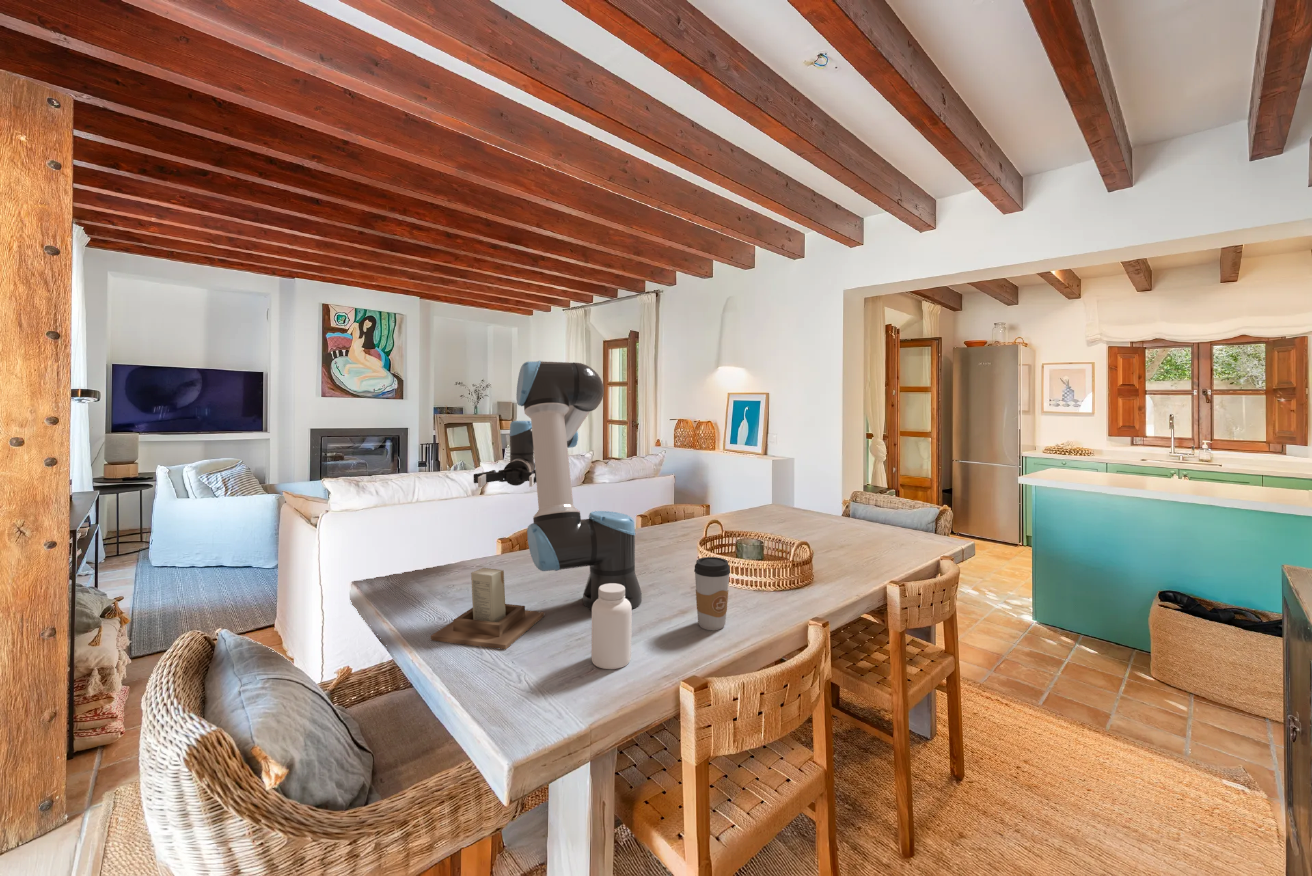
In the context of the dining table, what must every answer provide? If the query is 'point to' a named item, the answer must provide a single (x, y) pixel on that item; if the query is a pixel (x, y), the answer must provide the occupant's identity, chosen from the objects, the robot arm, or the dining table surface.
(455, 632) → the socket holder
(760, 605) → the dining table surface
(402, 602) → the dining table surface
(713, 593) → the coffee cup
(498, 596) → the skincare box
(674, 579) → the dining table surface
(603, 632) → the pill bottle
